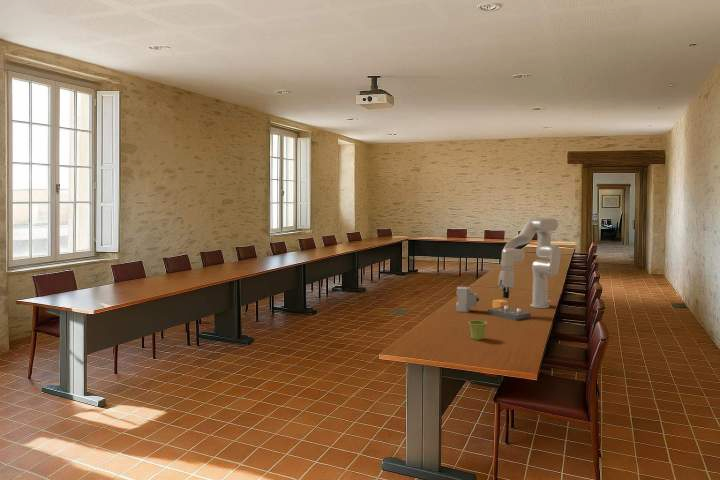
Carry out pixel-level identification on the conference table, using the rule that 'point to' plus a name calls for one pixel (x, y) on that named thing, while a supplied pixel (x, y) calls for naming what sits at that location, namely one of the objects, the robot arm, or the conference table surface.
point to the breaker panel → (509, 313)
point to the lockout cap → (499, 303)
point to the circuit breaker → (465, 299)
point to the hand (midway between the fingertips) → (505, 297)
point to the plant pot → (477, 329)
